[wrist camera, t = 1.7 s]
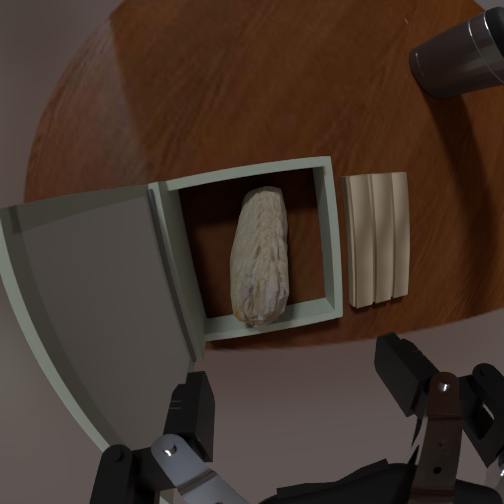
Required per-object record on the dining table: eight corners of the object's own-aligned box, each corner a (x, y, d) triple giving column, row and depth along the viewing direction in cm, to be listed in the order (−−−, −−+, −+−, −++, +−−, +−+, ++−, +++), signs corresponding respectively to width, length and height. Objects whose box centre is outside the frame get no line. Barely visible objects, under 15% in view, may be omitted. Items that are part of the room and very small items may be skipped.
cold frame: (318, 158, 30) (502, 136, 6) (332, 302, 35) (434, 451, 11) (161, 184, 30) (-14, 216, 6) (195, 326, 35) (160, 504, 11)
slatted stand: (399, 172, 31) (407, 172, 29) (401, 288, 36) (408, 293, 34) (340, 176, 31) (347, 177, 29) (349, 302, 36) (354, 308, 34)
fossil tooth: (290, 191, 32) (271, 307, 35) (239, 183, 32) (223, 303, 34) (325, 186, 21) (294, 352, 24) (250, 173, 20) (226, 349, 23)
